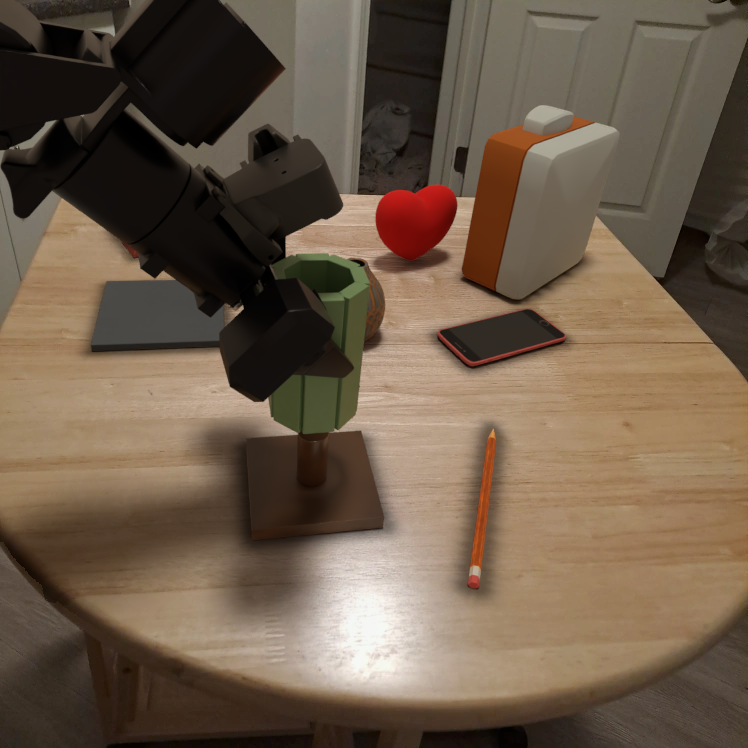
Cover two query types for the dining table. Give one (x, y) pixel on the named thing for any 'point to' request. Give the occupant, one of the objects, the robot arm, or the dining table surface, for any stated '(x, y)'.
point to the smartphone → (500, 336)
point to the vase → (372, 301)
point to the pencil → (482, 513)
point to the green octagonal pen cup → (348, 314)
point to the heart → (415, 219)
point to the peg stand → (311, 485)
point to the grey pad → (153, 317)
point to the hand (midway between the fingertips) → (334, 344)
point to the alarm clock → (537, 200)
